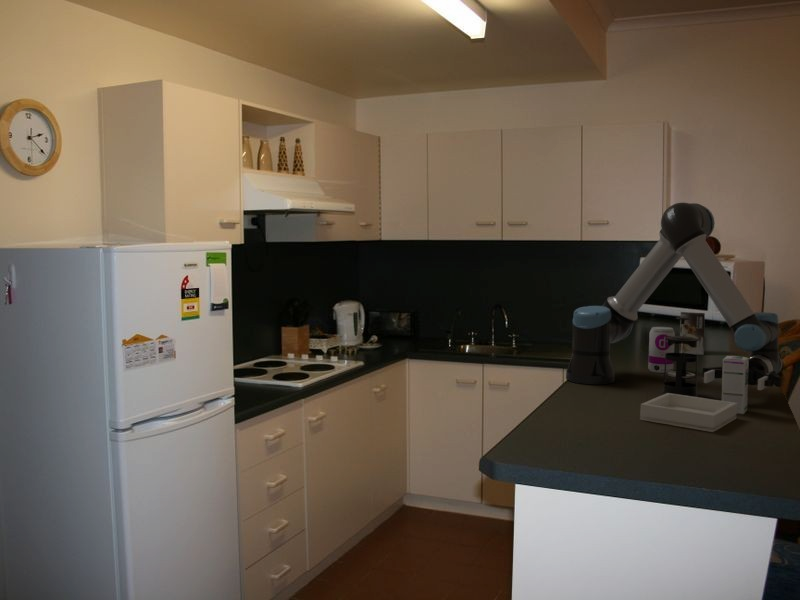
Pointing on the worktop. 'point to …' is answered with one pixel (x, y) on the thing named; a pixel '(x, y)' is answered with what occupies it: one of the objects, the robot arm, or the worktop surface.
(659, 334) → the supplement can
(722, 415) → the bin
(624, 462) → the worktop surface
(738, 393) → the syrup box
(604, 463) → the worktop surface
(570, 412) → the worktop surface
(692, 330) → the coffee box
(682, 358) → the french press
